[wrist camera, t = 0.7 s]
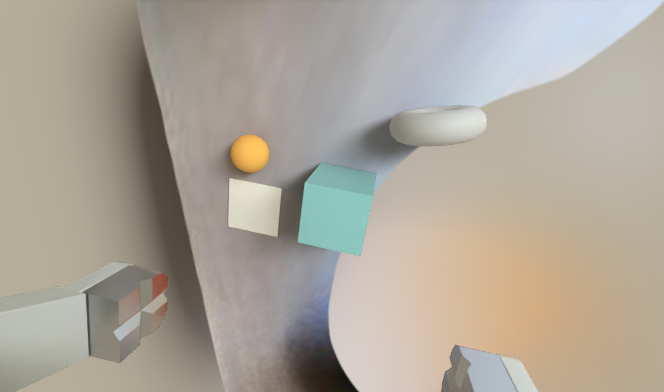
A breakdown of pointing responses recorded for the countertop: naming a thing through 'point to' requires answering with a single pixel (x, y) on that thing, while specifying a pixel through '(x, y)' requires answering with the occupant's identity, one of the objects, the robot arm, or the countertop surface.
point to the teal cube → (336, 208)
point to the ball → (250, 153)
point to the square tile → (254, 207)
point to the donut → (438, 125)
